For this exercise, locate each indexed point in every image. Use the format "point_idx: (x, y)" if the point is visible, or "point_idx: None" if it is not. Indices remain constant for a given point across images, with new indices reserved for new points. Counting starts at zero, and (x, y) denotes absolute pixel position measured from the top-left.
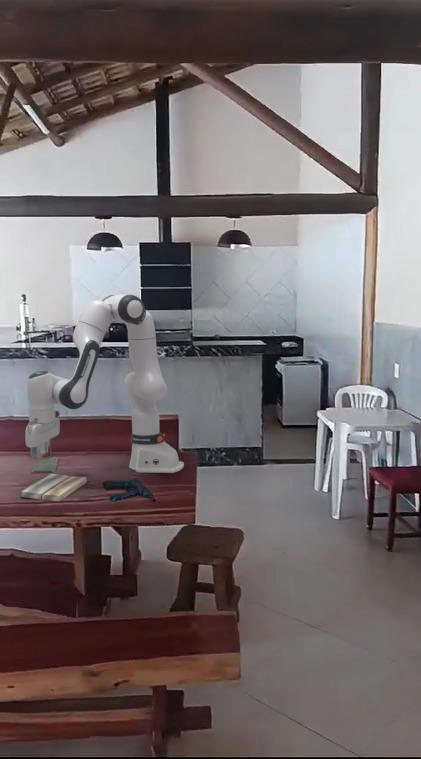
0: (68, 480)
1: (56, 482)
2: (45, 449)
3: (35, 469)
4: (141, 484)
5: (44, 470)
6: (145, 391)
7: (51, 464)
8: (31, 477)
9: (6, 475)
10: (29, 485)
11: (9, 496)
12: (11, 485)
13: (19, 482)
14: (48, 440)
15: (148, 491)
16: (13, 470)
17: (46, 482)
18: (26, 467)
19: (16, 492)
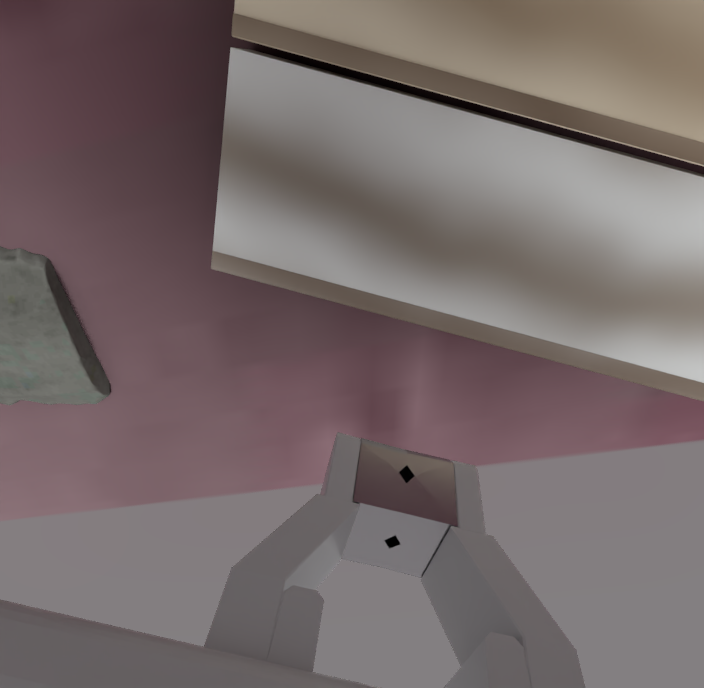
0: (397, 9)
1: (478, 142)
2: (433, 506)
3: (70, 386)
4: None
5: (64, 327)
6: None
7: None
8: (193, 379)
9: (183, 499)
10: (570, 365)
11: (619, 436)
12: None
13: (309, 426)
14: (255, 635)
15: None
16: (86, 483)
17: (481, 244)
18: (6, 434)
19: (534, 411)
